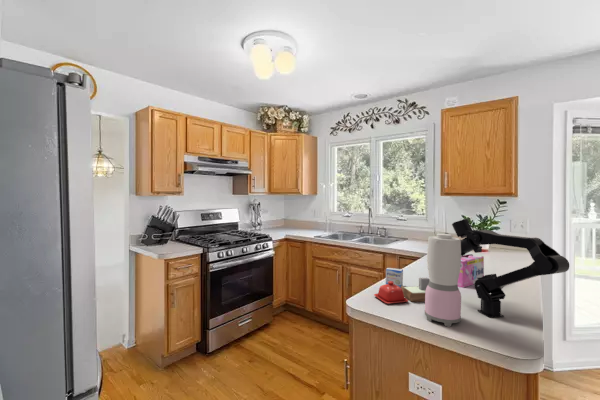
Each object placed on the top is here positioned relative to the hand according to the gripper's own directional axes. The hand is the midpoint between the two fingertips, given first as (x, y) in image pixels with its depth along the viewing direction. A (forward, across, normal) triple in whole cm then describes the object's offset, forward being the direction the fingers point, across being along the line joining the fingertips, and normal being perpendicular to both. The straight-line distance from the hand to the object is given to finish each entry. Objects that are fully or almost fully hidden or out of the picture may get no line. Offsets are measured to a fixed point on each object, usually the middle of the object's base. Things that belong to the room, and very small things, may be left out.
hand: (438, 259), depth 138 cm
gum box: (+16, -24, +19) cm, 35 cm away
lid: (+6, +16, +7) cm, 19 cm away
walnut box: (+7, +17, +10) cm, 21 cm away
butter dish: (+10, +30, +4) cm, 32 cm away
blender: (-10, +28, +17) cm, 34 cm away
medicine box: (+23, +13, +1) cm, 26 cm away
